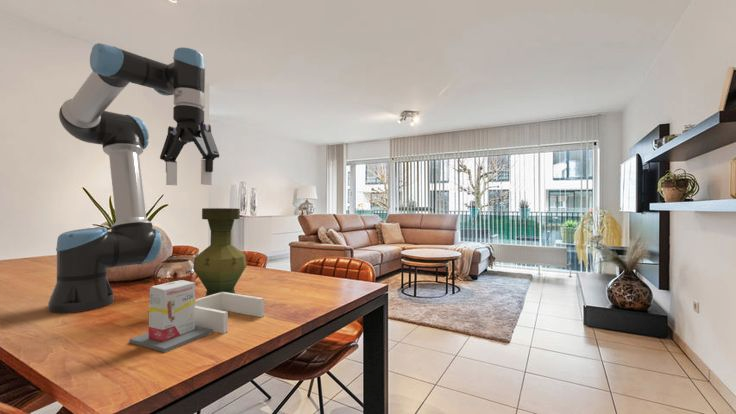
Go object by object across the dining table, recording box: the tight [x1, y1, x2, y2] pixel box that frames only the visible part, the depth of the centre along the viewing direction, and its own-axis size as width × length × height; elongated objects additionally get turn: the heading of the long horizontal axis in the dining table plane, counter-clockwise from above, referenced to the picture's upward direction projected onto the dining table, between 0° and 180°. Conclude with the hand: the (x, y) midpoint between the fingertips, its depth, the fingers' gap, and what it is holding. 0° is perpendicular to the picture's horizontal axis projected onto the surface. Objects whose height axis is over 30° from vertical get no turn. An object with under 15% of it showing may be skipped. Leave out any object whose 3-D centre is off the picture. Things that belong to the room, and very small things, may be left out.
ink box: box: [148, 279, 196, 342], centre depth 78 cm, size 9×5×12 cm, turn 157°
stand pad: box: [129, 326, 213, 353], centre depth 79 cm, size 12×12×1 cm
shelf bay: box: [195, 292, 265, 334], centre depth 91 cm, size 16×14×5 cm
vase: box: [192, 207, 248, 297], centre depth 110 cm, size 16×16×30 cm
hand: (188, 185), depth 92 cm, fingers open, 13 cm apart
